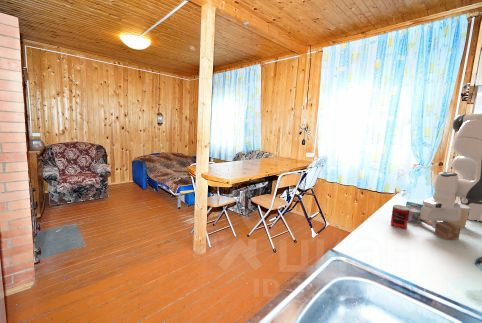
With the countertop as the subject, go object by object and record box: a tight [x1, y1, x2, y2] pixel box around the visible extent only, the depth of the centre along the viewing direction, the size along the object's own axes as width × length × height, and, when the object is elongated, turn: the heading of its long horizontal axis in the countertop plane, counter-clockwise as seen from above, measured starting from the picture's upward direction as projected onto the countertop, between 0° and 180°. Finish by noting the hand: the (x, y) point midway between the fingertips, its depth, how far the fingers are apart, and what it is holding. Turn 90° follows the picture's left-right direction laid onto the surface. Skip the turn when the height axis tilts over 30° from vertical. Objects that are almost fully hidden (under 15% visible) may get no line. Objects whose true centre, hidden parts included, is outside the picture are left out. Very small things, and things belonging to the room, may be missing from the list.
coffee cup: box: [448, 204, 470, 229], centre depth 131 cm, size 9×9×12 cm
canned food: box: [390, 204, 410, 230], centre depth 127 cm, size 8×8×11 cm
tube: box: [418, 216, 432, 227], centre depth 123 cm, size 4×16×4 cm, turn 6°
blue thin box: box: [405, 200, 424, 211], centre depth 151 cm, size 12×2×6 cm, turn 45°
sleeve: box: [408, 209, 423, 224], centre depth 136 cm, size 7×6×6 cm
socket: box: [434, 221, 462, 241], centre depth 116 cm, size 7×6×7 cm
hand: (438, 228), depth 121 cm, fingers closed on tube, 3 cm apart
